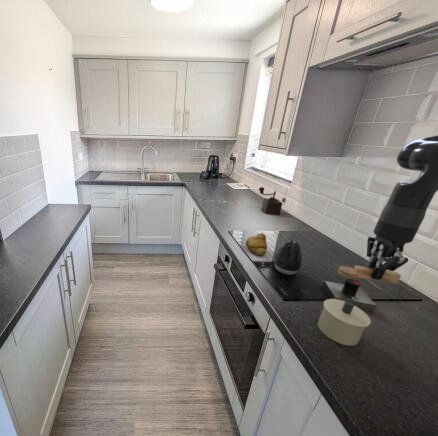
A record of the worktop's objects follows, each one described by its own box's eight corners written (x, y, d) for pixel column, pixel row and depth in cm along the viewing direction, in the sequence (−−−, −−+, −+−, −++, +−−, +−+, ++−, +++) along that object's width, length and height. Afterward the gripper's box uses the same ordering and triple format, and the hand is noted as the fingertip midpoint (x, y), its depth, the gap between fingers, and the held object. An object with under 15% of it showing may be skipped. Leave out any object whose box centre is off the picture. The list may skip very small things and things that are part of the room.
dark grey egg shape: (267, 270, 101) (275, 239, 96) (277, 262, 108) (285, 233, 102) (292, 281, 94) (303, 249, 89) (301, 272, 101) (311, 241, 95)
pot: (348, 323, 75) (356, 305, 72) (365, 350, 65) (376, 330, 63) (312, 315, 77) (319, 297, 74) (324, 340, 68) (332, 321, 65)
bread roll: (268, 258, 111) (272, 243, 108) (247, 255, 113) (250, 240, 110) (262, 245, 123) (265, 232, 120) (243, 243, 125) (246, 230, 122)
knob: (339, 289, 86) (343, 278, 84) (346, 287, 87) (351, 277, 85) (350, 296, 82) (355, 285, 80) (358, 294, 83) (363, 283, 82)
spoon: (389, 278, 67) (394, 269, 66) (399, 287, 63) (404, 278, 62) (335, 268, 71) (338, 260, 70) (341, 276, 67) (345, 268, 66)
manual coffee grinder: (274, 210, 179) (280, 187, 173) (279, 215, 169) (286, 191, 163) (253, 208, 181) (258, 186, 175) (257, 213, 171) (263, 190, 165)
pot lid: (357, 306, 72) (362, 295, 71) (378, 333, 62) (384, 322, 61) (317, 298, 75) (320, 288, 74) (331, 323, 65) (336, 312, 64)
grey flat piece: (357, 293, 89) (360, 286, 87) (373, 312, 80) (376, 304, 78) (322, 286, 92) (324, 280, 91) (332, 303, 83) (335, 296, 82)
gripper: (367, 211, 67) (346, 261, 74) (398, 229, 55) (370, 288, 61) (399, 214, 65) (374, 266, 72) (439, 233, 53) (405, 294, 59)
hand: (373, 276), depth 67 cm, fingers closed on spoon, 2 cm apart
